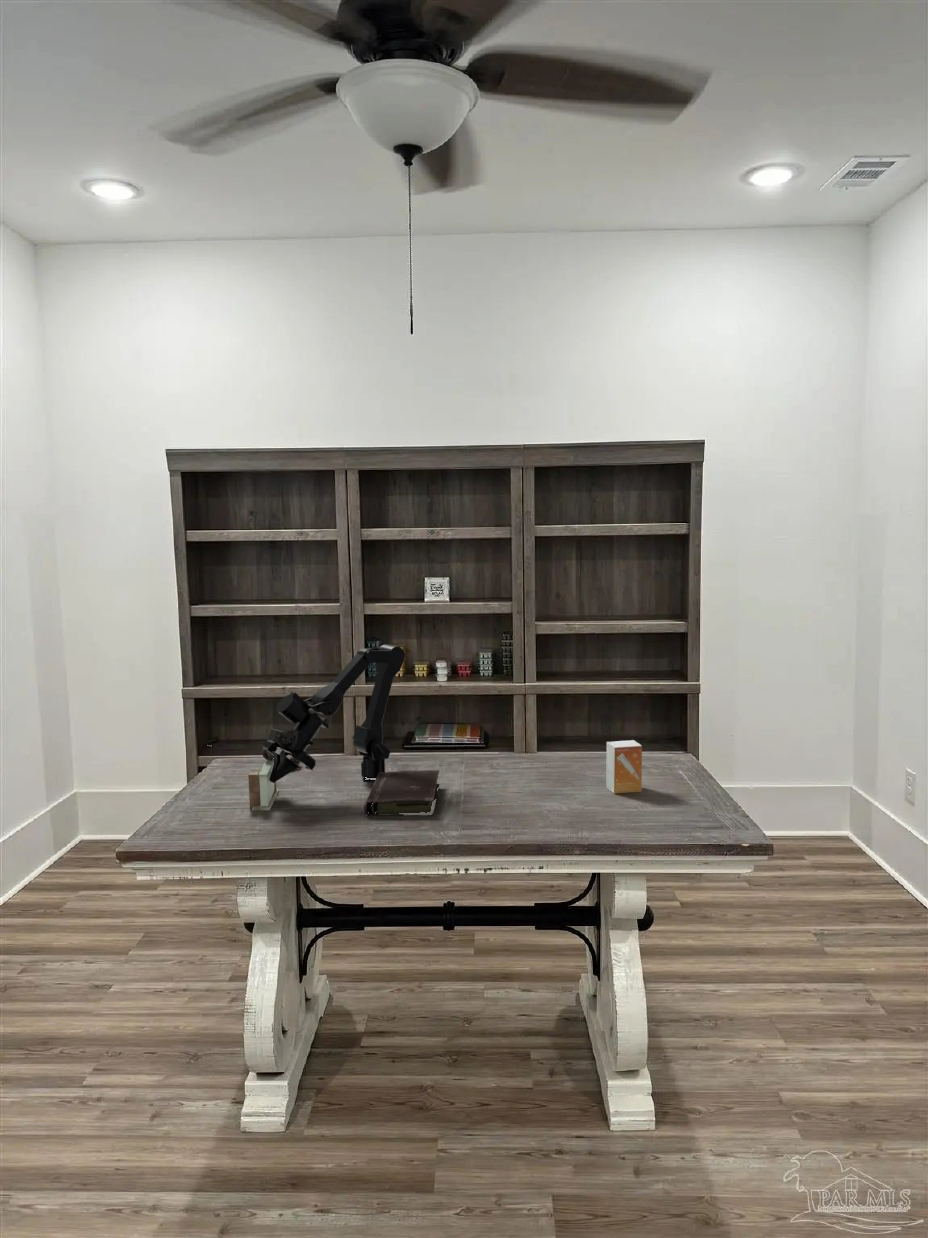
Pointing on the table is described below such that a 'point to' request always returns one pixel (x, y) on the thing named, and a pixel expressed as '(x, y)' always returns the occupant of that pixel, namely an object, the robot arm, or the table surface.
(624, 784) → the small box
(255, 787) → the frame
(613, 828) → the table surface
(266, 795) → the pale green flat panel
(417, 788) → the diary
